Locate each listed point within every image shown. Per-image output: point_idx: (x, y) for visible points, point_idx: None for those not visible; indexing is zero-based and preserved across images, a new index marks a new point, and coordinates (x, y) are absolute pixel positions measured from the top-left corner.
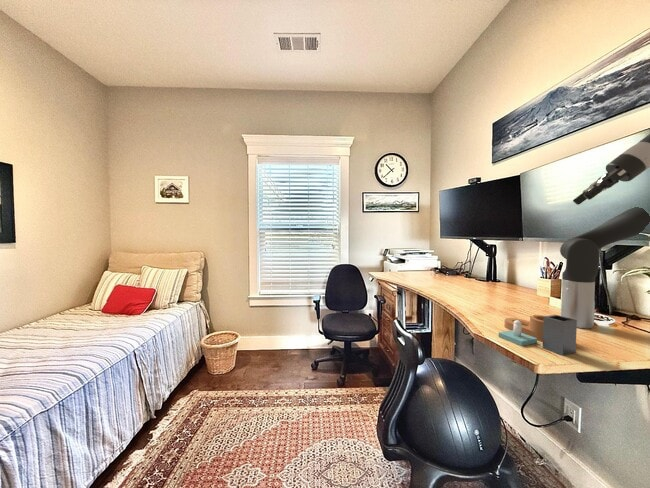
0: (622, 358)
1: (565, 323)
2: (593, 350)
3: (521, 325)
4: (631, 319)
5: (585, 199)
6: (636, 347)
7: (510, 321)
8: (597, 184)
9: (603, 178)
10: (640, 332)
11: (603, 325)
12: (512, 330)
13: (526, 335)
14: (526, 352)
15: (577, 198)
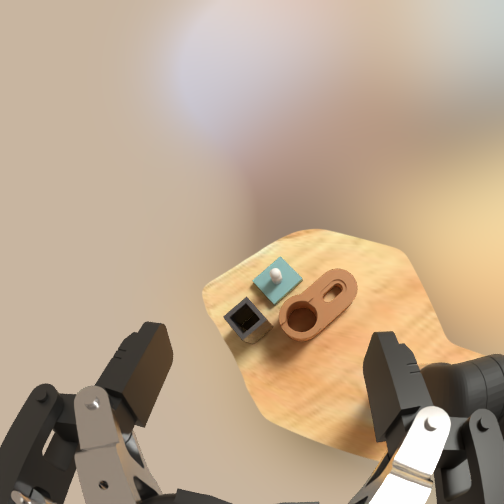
0: (255, 393)
1: (225, 319)
2: (272, 371)
3: (272, 278)
4: None
5: (374, 411)
6: (308, 430)
7: (333, 276)
8: (84, 389)
9: (82, 477)
10: None
11: None
12: (298, 276)
13: (281, 292)
14: (233, 284)
15: (381, 358)
